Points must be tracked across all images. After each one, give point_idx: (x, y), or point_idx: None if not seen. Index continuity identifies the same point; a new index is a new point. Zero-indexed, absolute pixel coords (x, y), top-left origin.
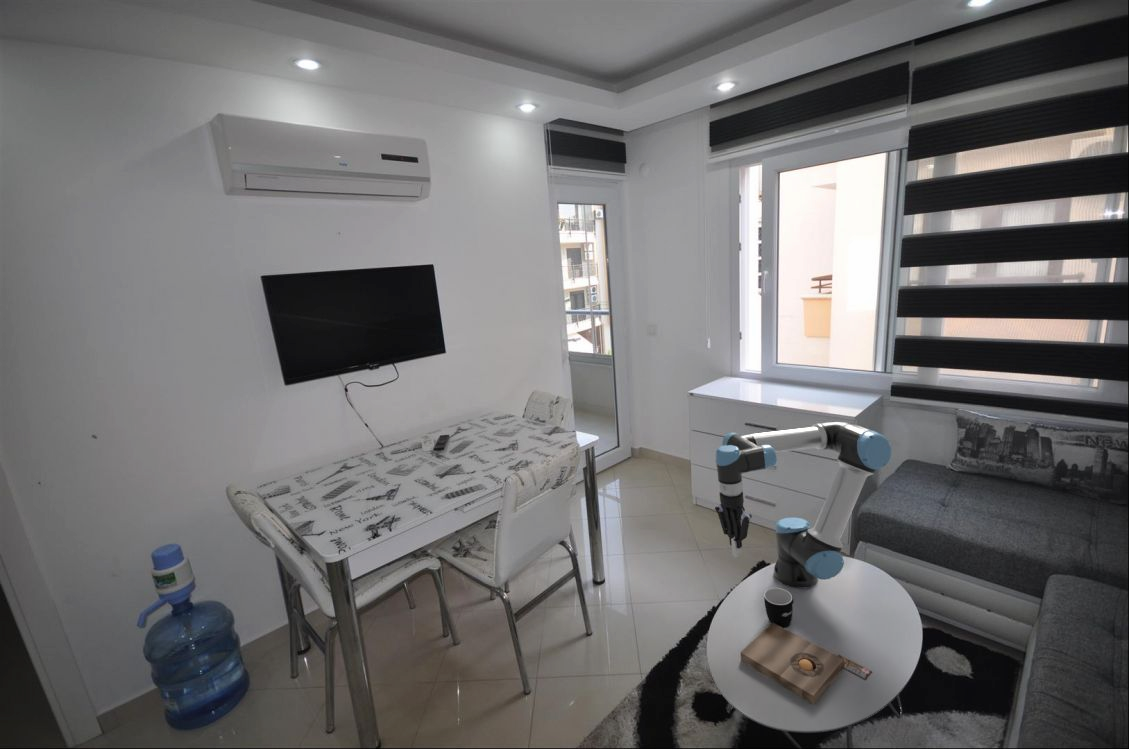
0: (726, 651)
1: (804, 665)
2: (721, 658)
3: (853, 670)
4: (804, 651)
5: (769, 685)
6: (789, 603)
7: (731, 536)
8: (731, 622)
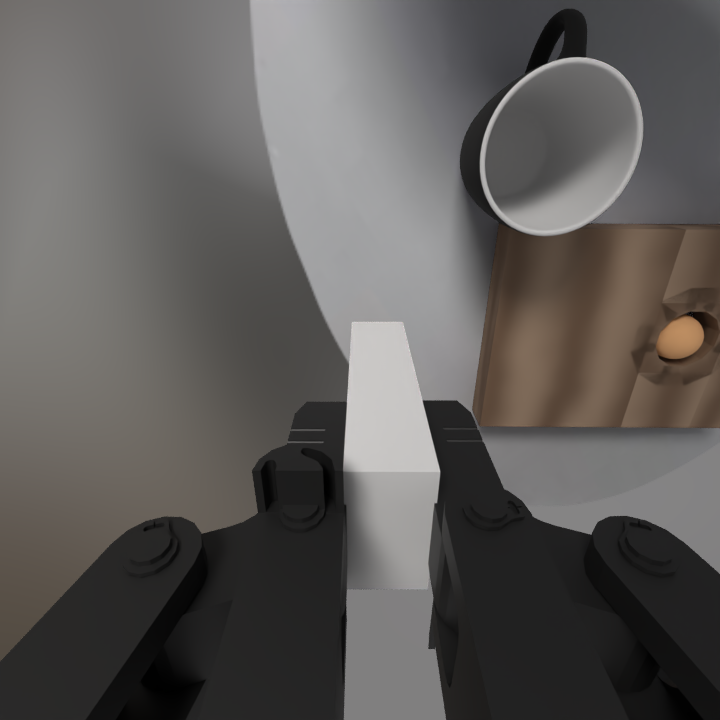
0: None
1: (686, 356)
2: None
3: None
4: (669, 291)
5: (576, 429)
6: (633, 166)
7: (346, 621)
8: (353, 291)
